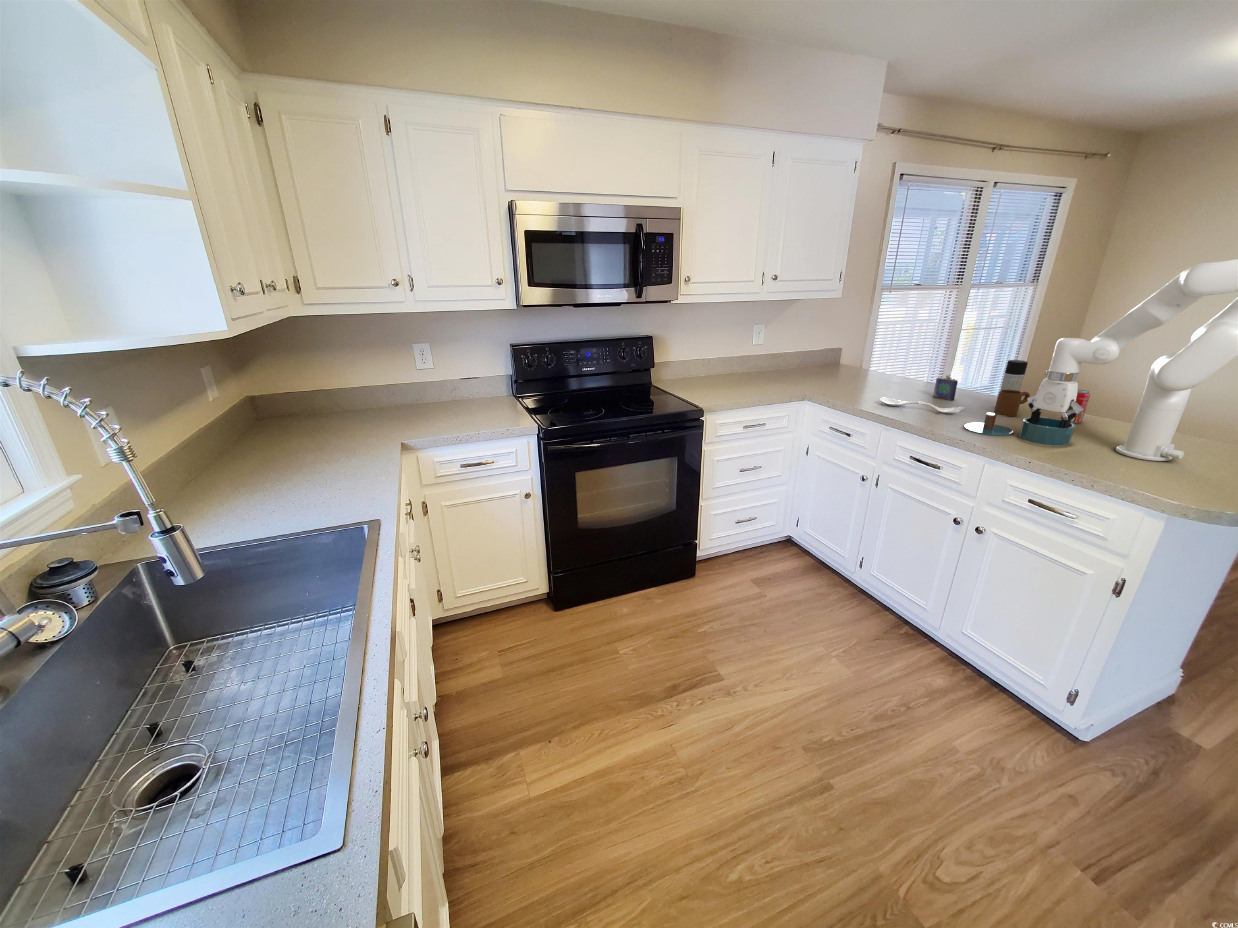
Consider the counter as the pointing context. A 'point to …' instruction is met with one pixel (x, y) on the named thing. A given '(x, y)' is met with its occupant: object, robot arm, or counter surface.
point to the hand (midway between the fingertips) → (1047, 426)
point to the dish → (1046, 432)
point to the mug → (1010, 402)
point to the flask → (945, 388)
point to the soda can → (1082, 401)
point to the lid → (988, 427)
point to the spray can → (1014, 375)
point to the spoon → (899, 403)
